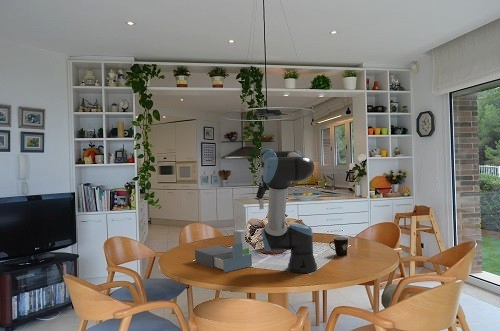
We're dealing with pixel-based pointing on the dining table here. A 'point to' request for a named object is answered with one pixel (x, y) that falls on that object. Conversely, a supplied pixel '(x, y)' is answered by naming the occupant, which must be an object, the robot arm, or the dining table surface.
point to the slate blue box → (210, 254)
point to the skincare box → (241, 240)
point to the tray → (233, 259)
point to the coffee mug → (340, 246)
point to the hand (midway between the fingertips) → (268, 210)
